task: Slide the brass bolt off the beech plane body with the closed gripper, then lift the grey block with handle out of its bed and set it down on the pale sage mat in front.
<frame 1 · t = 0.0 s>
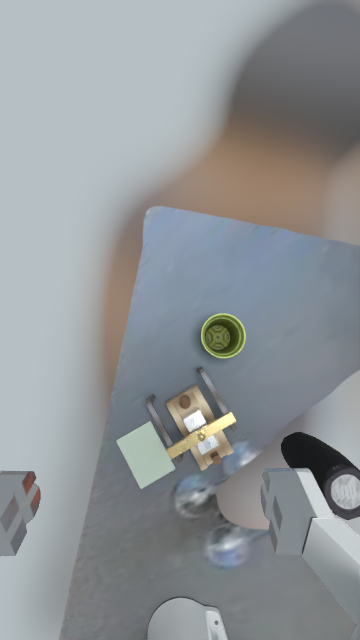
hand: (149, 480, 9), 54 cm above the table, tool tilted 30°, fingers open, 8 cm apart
brass bolt: (201, 435, 53), point 9 cm above the table, slide at 0.0 cm
sage mat: (145, 453, 61), on the table
grey block with handle: (199, 426, 59), point 3 cm above the table, touching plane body
plant pot: (217, 337, 64), on the table
portable speaker: (297, 448, 61), on the table
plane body: (198, 423, 62), on the table
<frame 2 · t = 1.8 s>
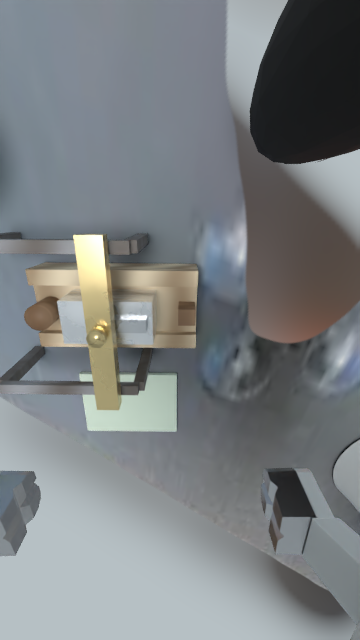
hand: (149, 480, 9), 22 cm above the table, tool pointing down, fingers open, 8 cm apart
brass bolt: (99, 333, 21), point 9 cm above the table, slide at 0.0 cm
sage mat: (130, 401, 35), on the table
grey block with handle: (117, 308, 27), point 3 cm above the table, touching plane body
portable speaker: (291, 115, 23), on the table
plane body: (123, 299, 30), on the table
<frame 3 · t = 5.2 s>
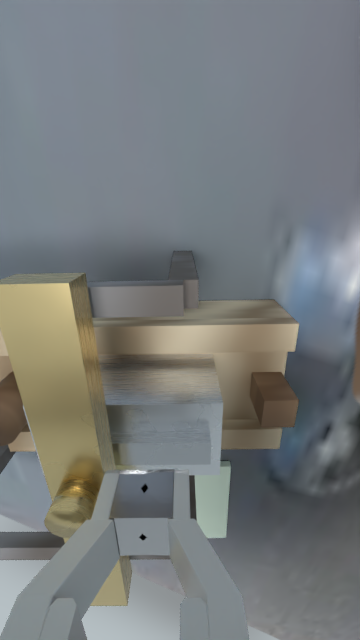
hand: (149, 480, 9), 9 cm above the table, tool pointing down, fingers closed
brass bolt: (79, 490, 9), point 9 cm above the table, slide at 1.3 cm, touching gripper
sage mat: (157, 499, 23), on the table
grey block with handle: (140, 385, 15), point 3 cm above the table, touching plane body
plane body: (147, 358, 18), on the table
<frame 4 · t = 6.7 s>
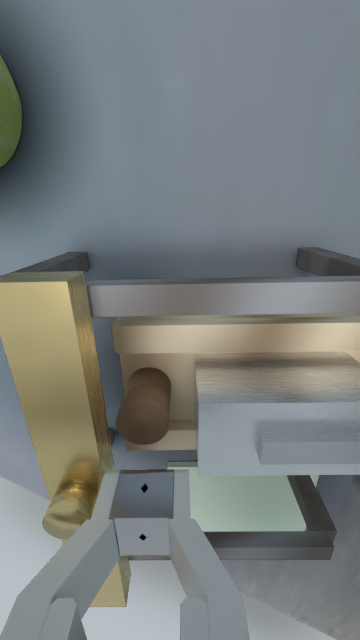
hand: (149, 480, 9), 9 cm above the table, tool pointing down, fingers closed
brass bolt: (77, 491, 9), point 9 cm above the table, slide at 8.3 cm, touching gripper
sage mat: (238, 499, 23), on the table
grey block with handle: (265, 384, 15), point 3 cm above the table, touching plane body
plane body: (252, 357, 18), on the table
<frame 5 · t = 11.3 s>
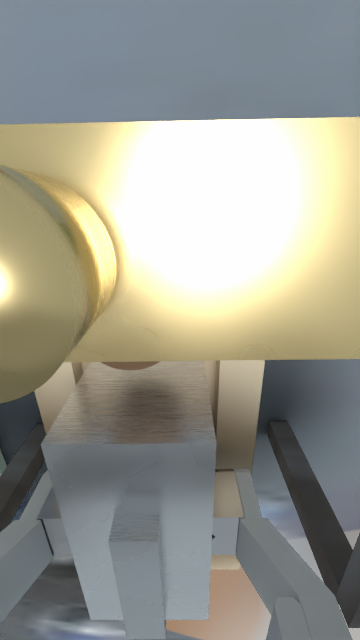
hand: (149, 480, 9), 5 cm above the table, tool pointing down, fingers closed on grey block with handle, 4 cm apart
brass bolt: (41, 260, 2), point 9 cm above the table, slide at 8.5 cm
grey block with handle: (154, 438, 11), point 3 cm above the table, touching gripper, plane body
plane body: (159, 393, 14), on the table
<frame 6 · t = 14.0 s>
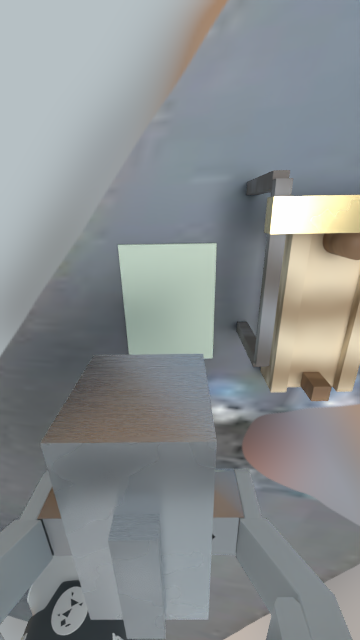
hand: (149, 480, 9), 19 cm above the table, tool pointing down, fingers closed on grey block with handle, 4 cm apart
sage mat: (169, 304, 27), on the table
grey block with handle: (154, 437, 11), point 17 cm above the table, touching gripper
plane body: (308, 302, 27), on the table
when the fingers open (4 cm above the table, at t = 17.2 s): grey block with handle drops 1 cm, resting on sage mat.
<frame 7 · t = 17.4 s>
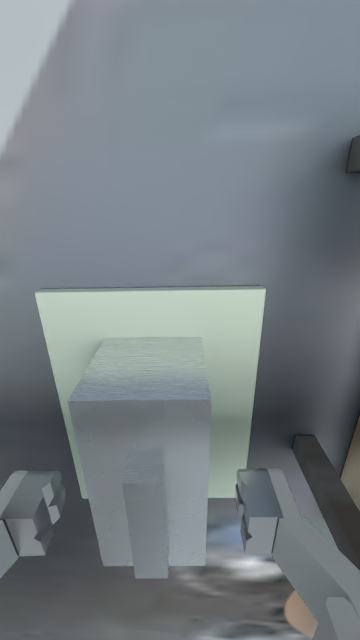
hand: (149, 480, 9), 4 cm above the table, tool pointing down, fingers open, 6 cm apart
sage mat: (158, 406, 13), on the table
grey block with handle: (157, 413, 13), resting on sage mat
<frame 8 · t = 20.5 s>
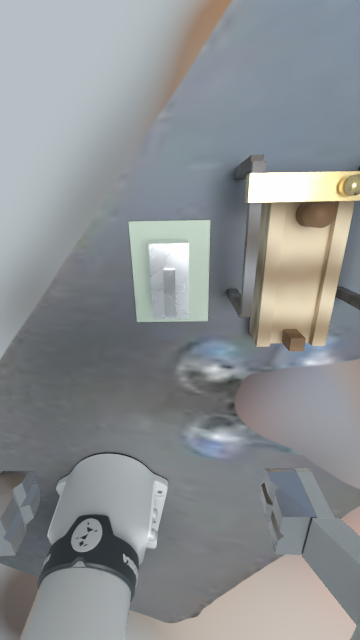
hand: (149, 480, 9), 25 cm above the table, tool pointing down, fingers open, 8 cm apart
brass bolt: (347, 186, 20), point 9 cm above the table, slide at 8.5 cm
sage mat: (171, 273, 32), on the table
grey block with handle: (171, 274, 32), resting on sage mat
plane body: (287, 271, 32), on the table
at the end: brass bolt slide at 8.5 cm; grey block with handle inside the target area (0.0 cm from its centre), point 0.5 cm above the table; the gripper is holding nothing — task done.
